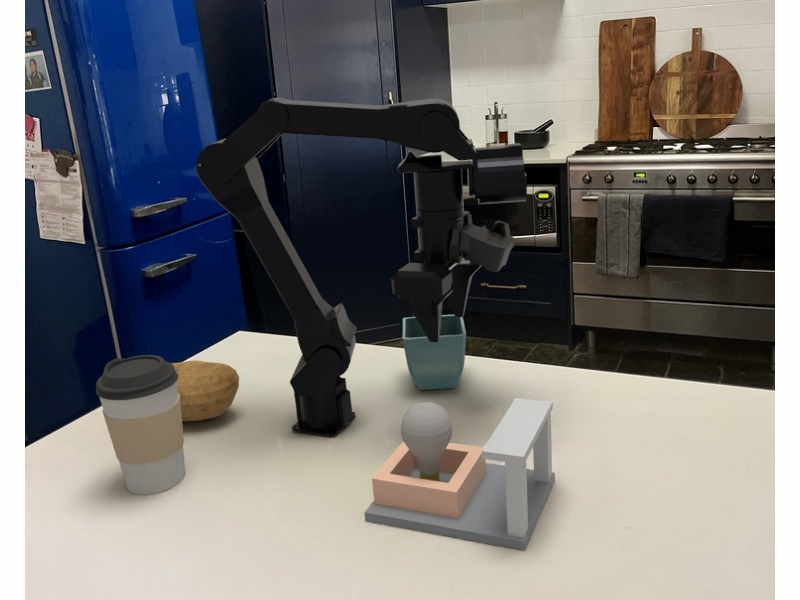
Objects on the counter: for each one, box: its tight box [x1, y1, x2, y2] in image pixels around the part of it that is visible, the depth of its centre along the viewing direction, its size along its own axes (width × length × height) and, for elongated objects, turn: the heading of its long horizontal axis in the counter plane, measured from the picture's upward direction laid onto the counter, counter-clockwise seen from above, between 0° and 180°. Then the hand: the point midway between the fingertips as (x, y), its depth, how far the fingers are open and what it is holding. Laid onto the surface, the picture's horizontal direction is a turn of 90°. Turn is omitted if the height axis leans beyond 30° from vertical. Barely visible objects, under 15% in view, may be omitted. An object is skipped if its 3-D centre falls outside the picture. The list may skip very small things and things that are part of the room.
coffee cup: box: [95, 354, 186, 496], centre depth 90 cm, size 9×9×15 cm
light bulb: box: [400, 401, 454, 482], centre depth 82 cm, size 5×6×10 cm
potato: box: [170, 359, 240, 422], centre depth 106 cm, size 10×14×8 cm
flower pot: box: [402, 314, 467, 391], centre depth 111 cm, size 9×9×9 cm
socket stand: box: [363, 397, 556, 551], centre depth 81 cm, size 17×13×10 cm
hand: (447, 328), depth 97 cm, fingers open, 9 cm apart
